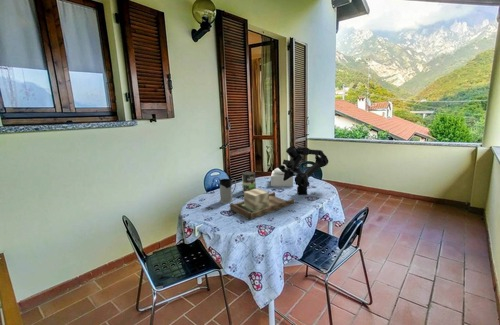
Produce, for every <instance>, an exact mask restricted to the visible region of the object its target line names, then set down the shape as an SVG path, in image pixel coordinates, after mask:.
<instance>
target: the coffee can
mask: <svg viewBox="0 0 500 325" xmlns="http://www.w3.org/2000/svg"><path fill="white" fill-rule="evenodd" d="M241 175H242V176H241V179H242V192H243V193H244V192H245V191H249V190H253V189H256V188H257V186H256V185H257V184H256V172H255V171H244V172H241Z"/></svg>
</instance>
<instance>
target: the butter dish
mask: <svg viewBox="0 0 500 325" xmlns="http://www.w3.org/2000/svg"><path fill="white" fill-rule="evenodd" d="M283 165H284V166H285V167H286V165H285V164H283ZM283 178H284V172H282V171H281V170H280V169H279V168H278V167H276V168H274V170H272V172H271V175H270V186H271V187H293V186H294V176H292V177H290V178H289V179H287V180H286V181H284V180H283Z"/></svg>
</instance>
